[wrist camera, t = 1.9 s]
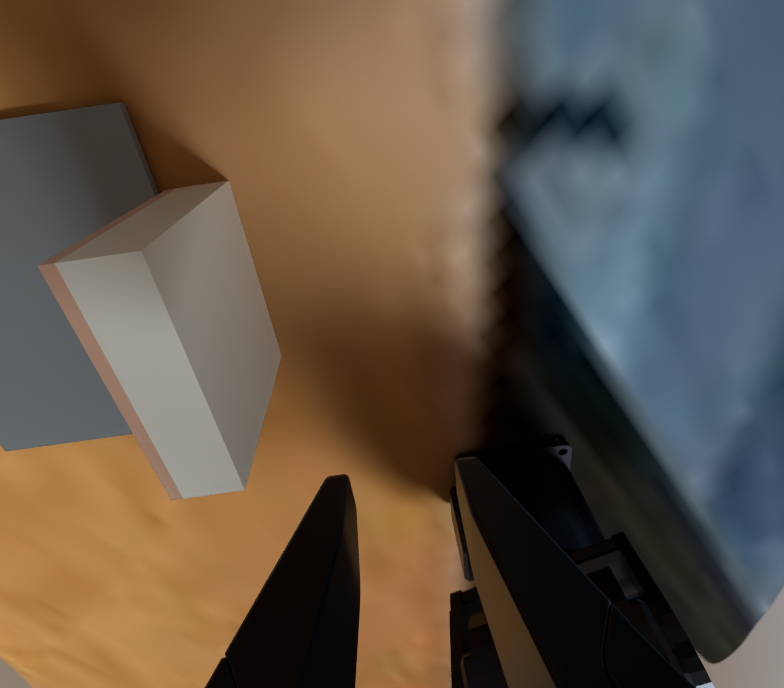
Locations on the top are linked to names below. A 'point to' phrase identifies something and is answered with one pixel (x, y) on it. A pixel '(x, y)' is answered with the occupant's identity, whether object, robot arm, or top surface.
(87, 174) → the mat
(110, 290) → the tile
